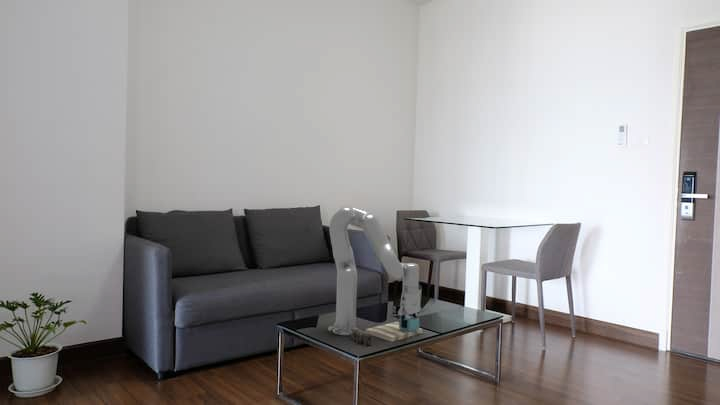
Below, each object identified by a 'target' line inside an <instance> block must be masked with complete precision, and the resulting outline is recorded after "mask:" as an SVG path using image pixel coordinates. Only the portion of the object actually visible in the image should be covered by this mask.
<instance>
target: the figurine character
mask: <svg viewBox="0 0 720 405" xmlns="http://www.w3.org/2000/svg"><path fill="white" fill-rule="evenodd" d="M399 310H400V304H396V305H395V306H391V310H390V311H391V313H393V314H395V316H397V318H400V316H399V314H398V311H399ZM404 316H405V314H404ZM408 316H411V317H412V314H410V315H408Z"/></svg>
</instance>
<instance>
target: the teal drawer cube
mask: <svg viewBox="0 0 720 405" xmlns="http://www.w3.org/2000/svg"><path fill="white" fill-rule="evenodd" d="M398 320H399V321H398V322H399V328H400V329H403V330H407V331H414V330H417V329H419V328H420V318H419V317H417V318H415V317H411V316H407V319H406V320H407V328H403V327H401V318H400V317H398Z"/></svg>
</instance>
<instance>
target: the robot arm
mask: <svg viewBox="0 0 720 405" xmlns="http://www.w3.org/2000/svg"><path fill="white" fill-rule="evenodd" d="M349 226H354V227H356V228H360V229H362V231H363V233H364V235H365V237H366V238H367V240H368V242H369V243H370V246H371V247H372V249H373V251H374V253H375V254H376V256H377V257H378V259H379V260H380V262H381V264H382V266H383V268H384V269H385V272H386V273H387V276H388V277H389V278H390V280H392V281H400V280H402V289H401V290H402V292H401V296H400V304H399V305H400V310H399V311H398V314H399V316H400V317H399V318H401V327H403V328H407V320H406V319H407V316H408V315H410V314H412V317H415V318H419V314H420V311H421V310H422V307H421V302H420V295H419V292H418V285H419V284H420V283H419V279H420V265H419V264H418V263H414V262H406V263H405V262H400V260H399V259H398V257H397V255H396V253H395V251H394V249H393V247H392V243H391V242H390V240H389V238H388V236H387V234H386V233H385V230H384V229H383V227H382V225H381V223H380V221H379V219H378V218H377V216H376V215H374V214H373V213H370V212H367V211H363V210H361V209H358V208H355V207H353V206H349V205H344V206H342V207H340V208H339V209H338V210H337V211H336V212H335V213H334V214H333V215H332V217H331V219H330V222H329V229H328V230H329V236H330V244H331V247H332V256H333V259H334V263H335V267H336V271H337V272H336V273H337V275H336V304H335V306H336V307H335V322H334V323H333V325H331V326H328V327H327V329H328V331H329V332H330V331H332V332H331V333H333V334H335V335H338V336H351V335H350V333H351V334H352V333H353V331H352V330H355V329H358V327H357V326H356V325H357V324H356V323H357V322H356V320H357V319H356V318H357V296H358V295H357V294H358V293H357V292H358V291H357V290H358V272H357V266H356V260H355V256H354V250H353V248H352V246H351V243H350V239H349V233H348V227H349ZM398 314H397V315H398ZM404 314H405V316H404ZM351 329H352V330H351Z"/></svg>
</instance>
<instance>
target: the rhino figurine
mask: <svg viewBox="0 0 720 405" xmlns="http://www.w3.org/2000/svg"><path fill="white" fill-rule="evenodd" d="M351 330H352V329H351ZM352 331H353V333H352V334H351V333H350V335H349V336H350V337H351V339H354V338H356V342H355V343H357V344H359V343H363V344H362V345H363V346H364V347H365V346H367V343H369V344H368V346H373V344H372V343H373V341H372V339H373V338H372V337H373V336H372V335H371V334H370V333H369V332H367V331H366V330H362V329H361V328H357V329H355V330H352Z"/></svg>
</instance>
